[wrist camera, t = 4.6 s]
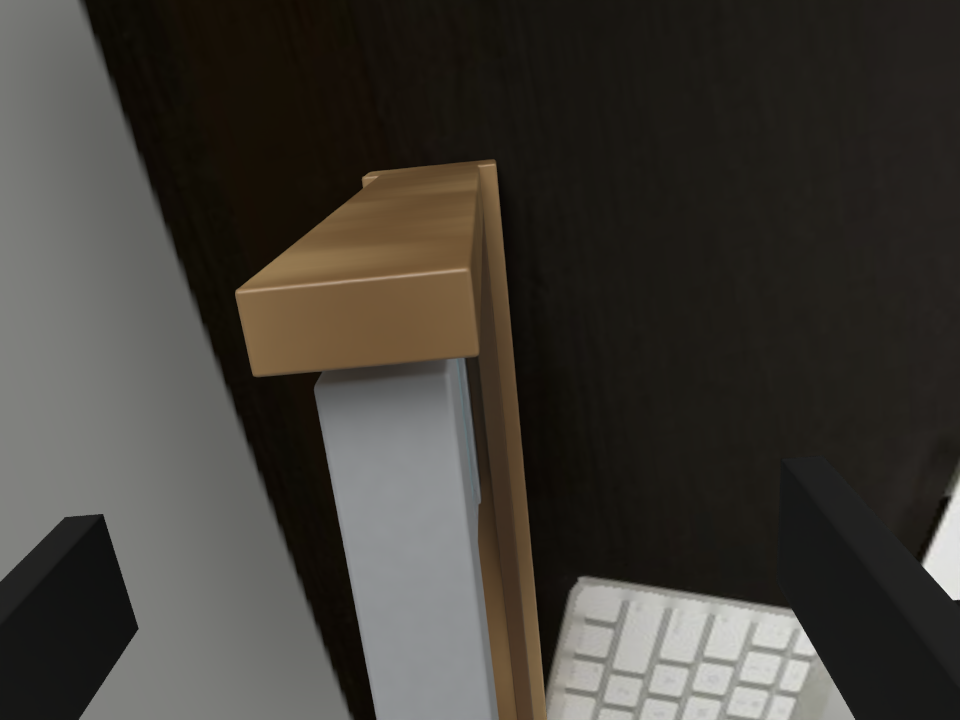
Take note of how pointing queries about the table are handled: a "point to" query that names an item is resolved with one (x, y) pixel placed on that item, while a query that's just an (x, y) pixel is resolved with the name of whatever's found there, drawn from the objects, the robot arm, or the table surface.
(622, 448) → the table surface
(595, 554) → the table surface
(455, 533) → the grey rectangular block
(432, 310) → the brown wooden l-shape
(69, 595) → the robot arm
